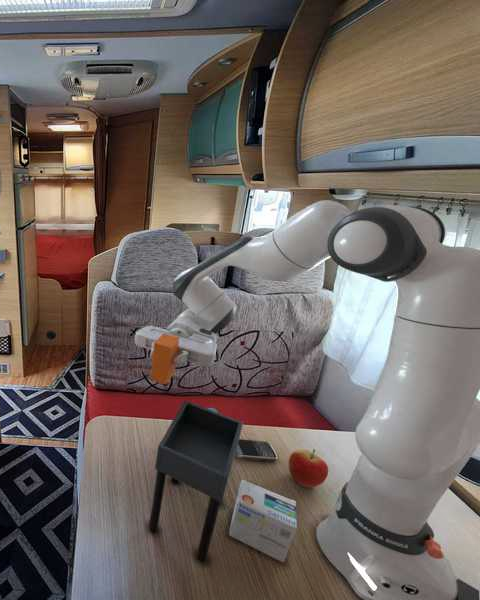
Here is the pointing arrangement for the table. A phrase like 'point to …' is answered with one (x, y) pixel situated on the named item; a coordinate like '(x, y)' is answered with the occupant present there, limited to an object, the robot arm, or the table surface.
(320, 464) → the apple
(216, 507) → the stand
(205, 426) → the dark gray open bin
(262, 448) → the cell phone
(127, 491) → the table surface
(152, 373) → the block
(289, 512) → the light bulb box
